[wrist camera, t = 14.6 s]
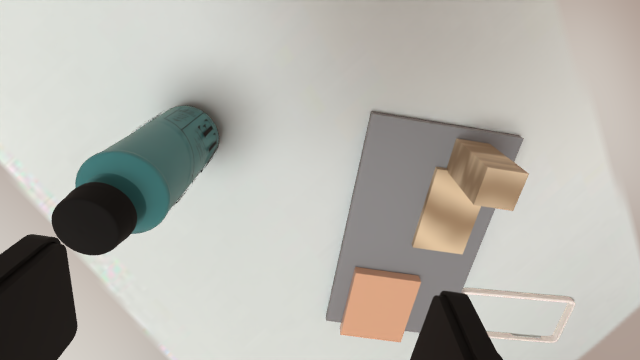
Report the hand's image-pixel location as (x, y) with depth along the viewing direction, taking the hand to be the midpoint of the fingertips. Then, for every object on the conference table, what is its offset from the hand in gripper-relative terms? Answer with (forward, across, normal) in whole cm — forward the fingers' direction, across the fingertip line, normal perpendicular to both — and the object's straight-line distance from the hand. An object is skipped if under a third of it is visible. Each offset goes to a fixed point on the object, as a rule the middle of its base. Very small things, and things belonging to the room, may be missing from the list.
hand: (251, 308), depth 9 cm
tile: (+29, -13, +20) cm, 37 cm away
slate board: (+30, -15, +15) cm, 37 cm away
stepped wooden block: (+29, -18, +9) cm, 35 cm away
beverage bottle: (+31, +11, +6) cm, 33 cm away
